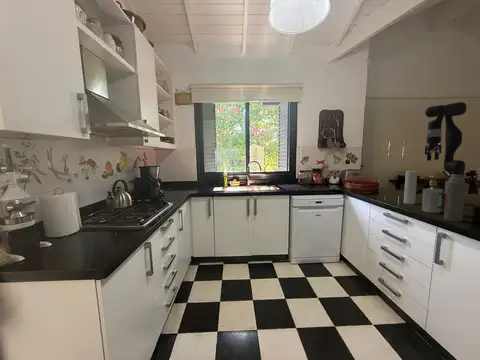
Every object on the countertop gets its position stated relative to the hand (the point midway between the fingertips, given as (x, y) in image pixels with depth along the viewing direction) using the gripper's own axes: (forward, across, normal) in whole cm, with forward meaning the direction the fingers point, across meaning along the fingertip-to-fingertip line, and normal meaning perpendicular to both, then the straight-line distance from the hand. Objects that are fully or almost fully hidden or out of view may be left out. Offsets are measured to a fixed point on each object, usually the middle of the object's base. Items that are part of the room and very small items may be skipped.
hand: (432, 160), depth 156 cm
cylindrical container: (+34, -6, -17) cm, 39 cm away
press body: (+34, +7, +6) cm, 35 cm away
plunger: (+32, +7, +4) cm, 33 cm away
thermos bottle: (+34, +18, +21) cm, 44 cm away
